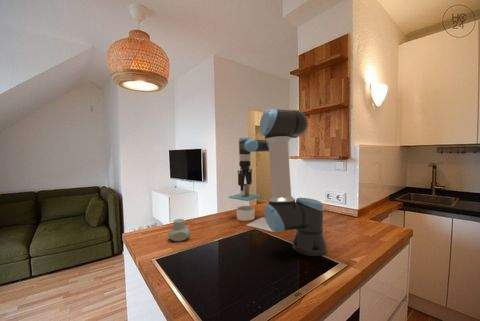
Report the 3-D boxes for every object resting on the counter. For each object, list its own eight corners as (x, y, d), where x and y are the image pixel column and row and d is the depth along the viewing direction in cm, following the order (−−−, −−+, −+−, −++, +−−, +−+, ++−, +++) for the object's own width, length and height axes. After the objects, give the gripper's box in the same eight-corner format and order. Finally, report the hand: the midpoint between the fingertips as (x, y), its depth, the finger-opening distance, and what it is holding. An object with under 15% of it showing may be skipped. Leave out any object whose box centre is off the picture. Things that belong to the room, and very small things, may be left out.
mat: (272, 232, 120) (272, 231, 120) (245, 225, 132) (245, 224, 132) (287, 223, 135) (287, 222, 135) (262, 217, 147) (262, 217, 147)
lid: (248, 201, 134) (247, 186, 134) (228, 197, 144) (228, 184, 144) (261, 196, 147) (261, 183, 147) (243, 193, 157) (242, 181, 156)
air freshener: (168, 243, 108) (167, 224, 108) (169, 237, 116) (168, 219, 115) (190, 240, 111) (190, 221, 110) (189, 234, 119) (189, 217, 118)
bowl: (247, 222, 138) (247, 211, 137) (233, 219, 145) (233, 208, 145) (257, 217, 147) (257, 207, 147) (244, 214, 155) (243, 205, 154)
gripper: (248, 159, 154) (248, 191, 155) (231, 161, 140) (232, 196, 141) (256, 159, 149) (257, 193, 150) (241, 161, 135) (241, 197, 136)
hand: (245, 194), depth 146 cm, fingers closed on lid, 5 cm apart
